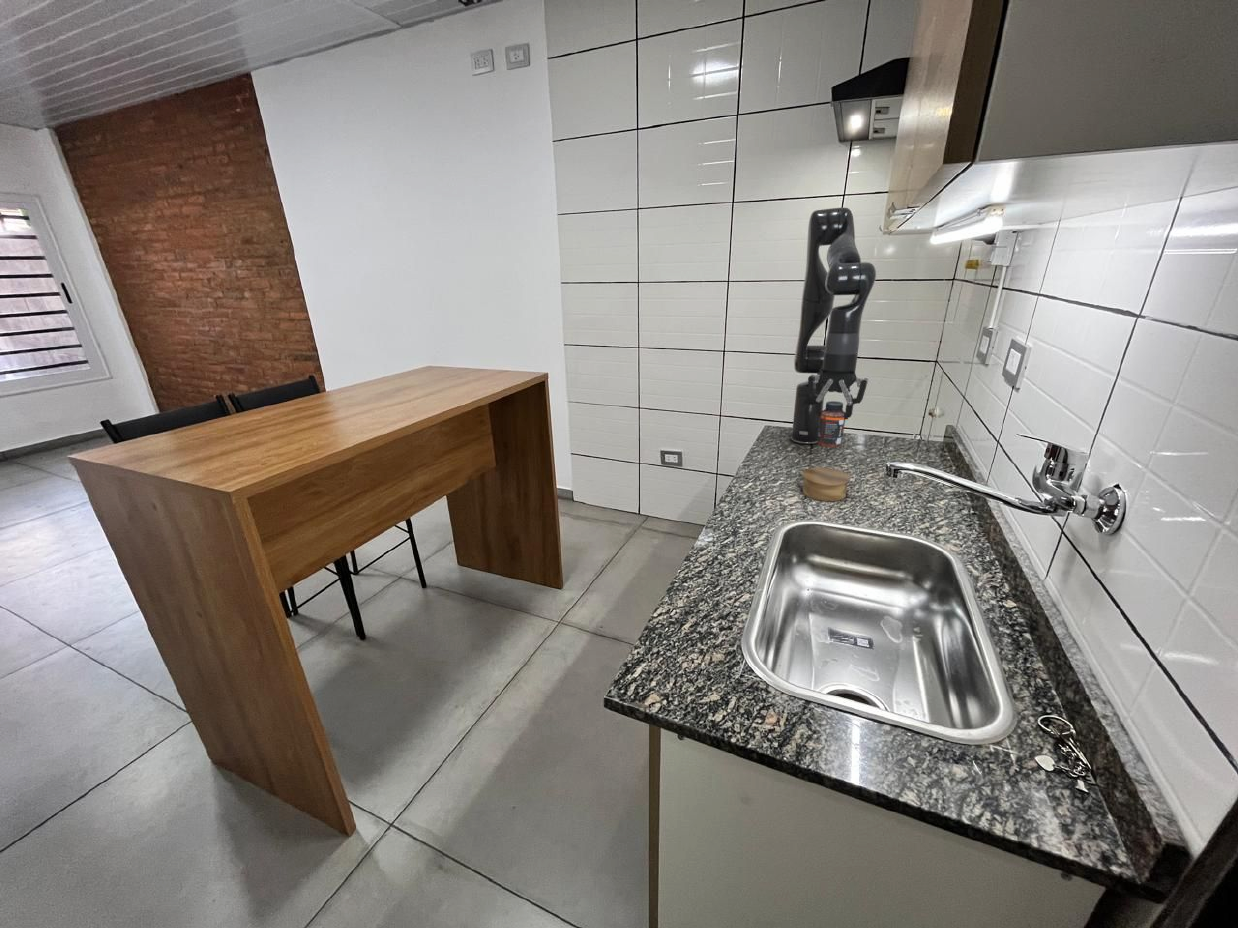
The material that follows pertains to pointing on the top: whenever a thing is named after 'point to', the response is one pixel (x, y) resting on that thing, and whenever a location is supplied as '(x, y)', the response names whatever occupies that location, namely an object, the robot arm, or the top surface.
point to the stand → (825, 483)
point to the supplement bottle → (831, 425)
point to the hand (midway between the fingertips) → (832, 416)
